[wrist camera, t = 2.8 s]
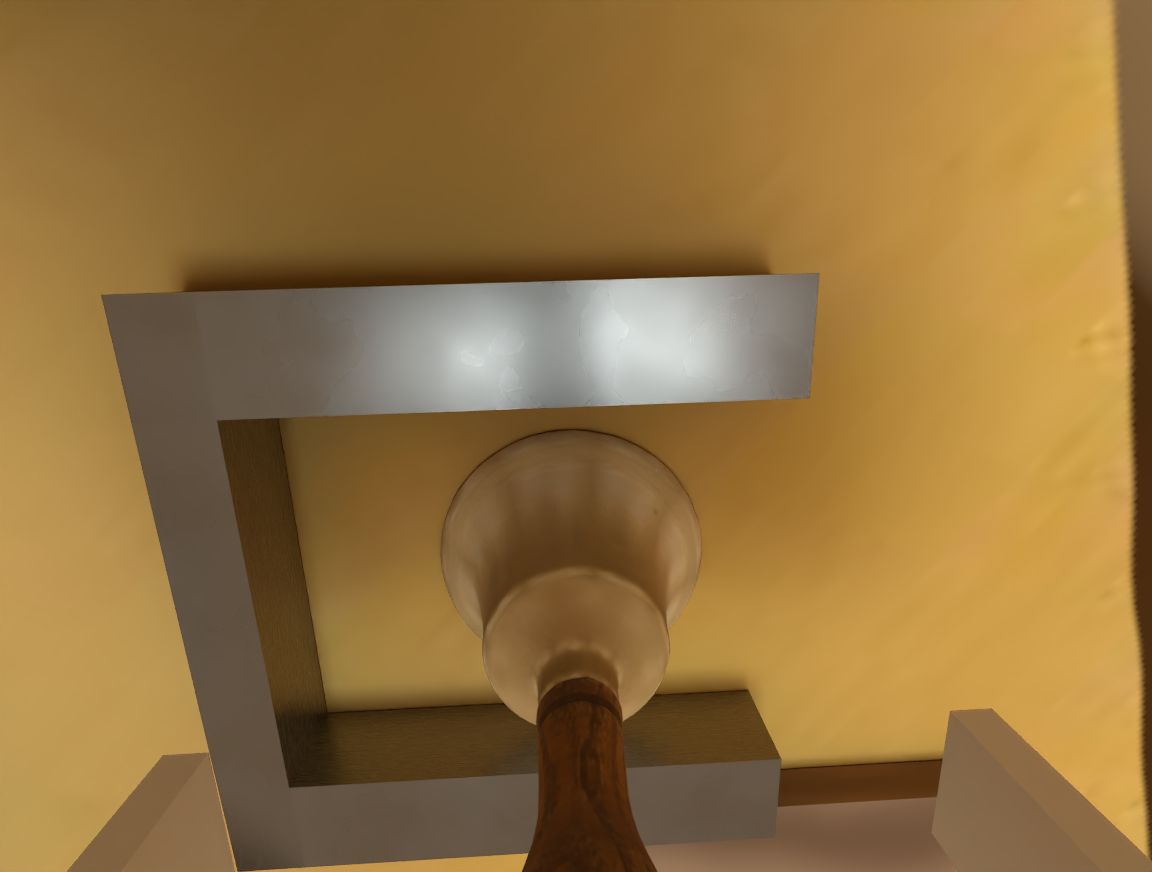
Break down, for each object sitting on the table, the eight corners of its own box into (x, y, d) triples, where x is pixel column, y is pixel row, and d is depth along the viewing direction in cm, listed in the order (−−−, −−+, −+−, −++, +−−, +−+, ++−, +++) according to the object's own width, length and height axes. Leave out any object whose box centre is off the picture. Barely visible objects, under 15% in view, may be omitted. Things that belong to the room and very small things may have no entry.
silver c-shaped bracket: (182, 291, 16) (101, 295, 13) (772, 274, 17) (818, 273, 14) (281, 787, 21) (237, 871, 18) (743, 760, 21) (774, 837, 18)
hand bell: (399, 604, 19) (-262, 2030, 4) (514, 381, 17) (195, 1279, 2) (620, 700, 20) (843, 2034, 5) (747, 501, 18) (1734, 1615, 3)
